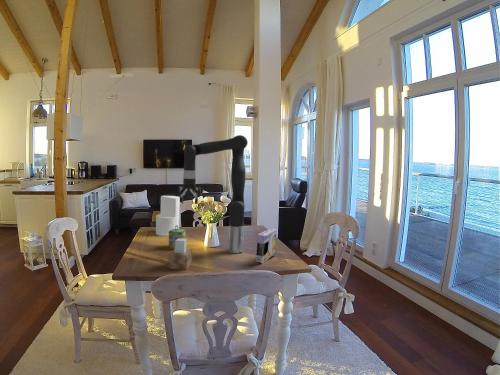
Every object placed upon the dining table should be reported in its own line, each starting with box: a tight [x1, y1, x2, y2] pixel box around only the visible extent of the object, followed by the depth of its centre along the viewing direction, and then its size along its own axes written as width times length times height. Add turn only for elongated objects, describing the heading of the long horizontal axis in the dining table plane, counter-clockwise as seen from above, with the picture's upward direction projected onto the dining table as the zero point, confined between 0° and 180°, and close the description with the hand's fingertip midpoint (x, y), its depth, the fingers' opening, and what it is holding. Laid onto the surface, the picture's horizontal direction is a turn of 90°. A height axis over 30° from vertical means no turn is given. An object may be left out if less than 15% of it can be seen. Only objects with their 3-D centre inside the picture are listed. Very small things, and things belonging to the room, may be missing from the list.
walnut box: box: [168, 249, 193, 271], centre depth 180 cm, size 10×10×8 cm
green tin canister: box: [168, 225, 187, 250], centre depth 214 cm, size 9×9×15 cm
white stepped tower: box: [155, 195, 181, 237], centre depth 248 cm, size 17×17×28 cm
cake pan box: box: [255, 228, 278, 263], centre depth 197 cm, size 19×5×18 cm, turn 151°
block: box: [175, 238, 188, 254], centre depth 179 cm, size 5×5×7 cm
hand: (189, 203), depth 202 cm, fingers open, 8 cm apart
